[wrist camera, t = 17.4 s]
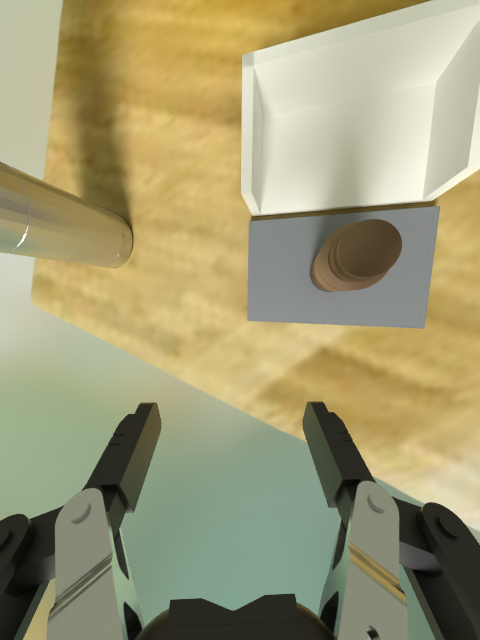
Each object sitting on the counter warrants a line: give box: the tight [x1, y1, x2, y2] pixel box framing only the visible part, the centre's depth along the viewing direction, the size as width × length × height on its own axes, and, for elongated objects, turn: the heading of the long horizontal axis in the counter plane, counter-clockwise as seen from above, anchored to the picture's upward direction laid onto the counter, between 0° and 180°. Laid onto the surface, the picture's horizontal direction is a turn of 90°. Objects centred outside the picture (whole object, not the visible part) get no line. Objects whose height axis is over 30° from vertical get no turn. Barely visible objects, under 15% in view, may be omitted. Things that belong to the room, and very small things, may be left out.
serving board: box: [248, 206, 440, 329], centre depth 27 cm, size 22×14×1 cm, turn 90°
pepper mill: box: [310, 219, 402, 292], centre depth 20 cm, size 5×5×14 cm
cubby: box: [241, 0, 480, 216], centre depth 22 cm, size 21×13×7 cm, turn 90°
